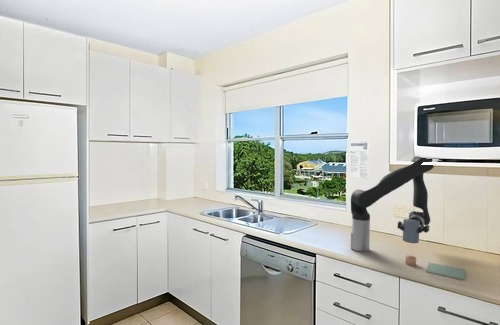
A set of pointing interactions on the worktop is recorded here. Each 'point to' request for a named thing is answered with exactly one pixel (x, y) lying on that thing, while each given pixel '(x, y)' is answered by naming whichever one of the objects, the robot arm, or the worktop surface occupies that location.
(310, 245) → the worktop surface
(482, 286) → the worktop surface
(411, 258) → the cylinder
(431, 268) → the mat
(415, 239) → the grey octagonal prism
